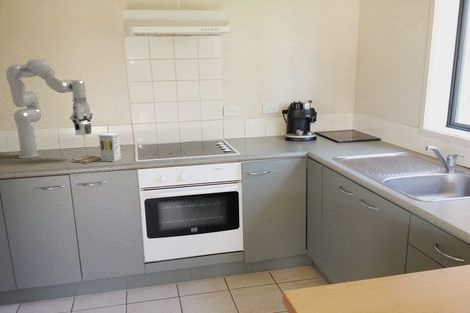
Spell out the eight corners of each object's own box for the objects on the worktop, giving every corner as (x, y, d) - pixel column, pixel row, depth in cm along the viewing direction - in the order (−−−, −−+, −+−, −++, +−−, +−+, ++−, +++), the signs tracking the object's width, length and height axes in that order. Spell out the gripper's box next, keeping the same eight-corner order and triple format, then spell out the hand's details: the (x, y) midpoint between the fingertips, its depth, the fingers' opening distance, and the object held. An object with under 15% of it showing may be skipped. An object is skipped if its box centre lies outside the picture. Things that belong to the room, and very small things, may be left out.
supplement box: (100, 161, 258) (98, 134, 254) (107, 157, 267) (105, 132, 263) (115, 161, 256) (112, 135, 252) (121, 158, 265) (119, 132, 261)
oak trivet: (72, 161, 258) (72, 159, 258) (87, 157, 268) (86, 155, 268) (86, 163, 252) (85, 161, 252) (100, 159, 263) (100, 157, 262)
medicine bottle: (85, 135, 253) (83, 115, 250) (75, 135, 255) (73, 115, 252) (91, 133, 260) (89, 114, 257) (81, 133, 261) (79, 114, 259)
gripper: (73, 102, 243) (76, 131, 247) (95, 99, 258) (97, 126, 262) (64, 101, 247) (67, 130, 251) (86, 99, 262) (89, 126, 266)
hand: (83, 128), depth 256 cm, fingers closed on medicine bottle, 8 cm apart
